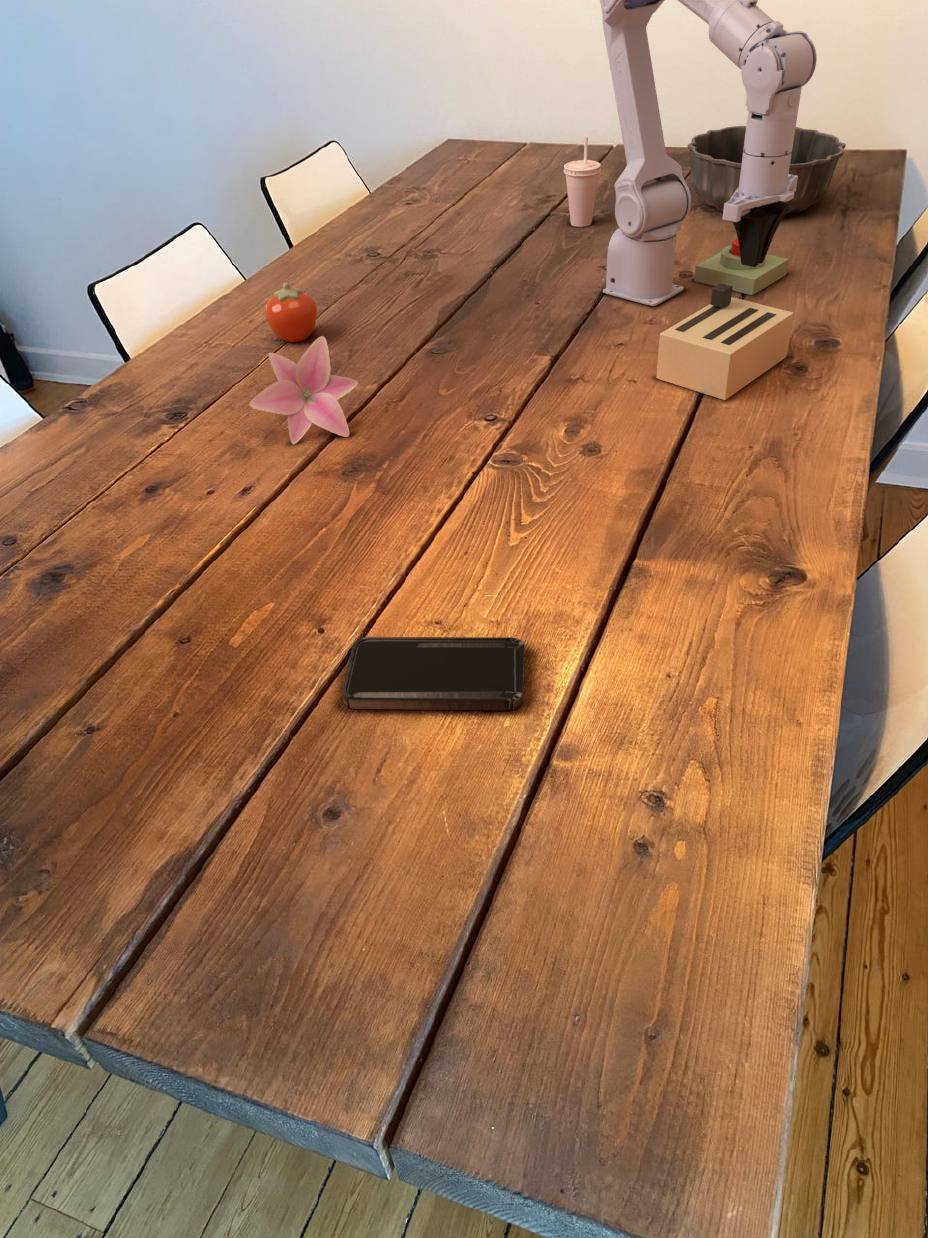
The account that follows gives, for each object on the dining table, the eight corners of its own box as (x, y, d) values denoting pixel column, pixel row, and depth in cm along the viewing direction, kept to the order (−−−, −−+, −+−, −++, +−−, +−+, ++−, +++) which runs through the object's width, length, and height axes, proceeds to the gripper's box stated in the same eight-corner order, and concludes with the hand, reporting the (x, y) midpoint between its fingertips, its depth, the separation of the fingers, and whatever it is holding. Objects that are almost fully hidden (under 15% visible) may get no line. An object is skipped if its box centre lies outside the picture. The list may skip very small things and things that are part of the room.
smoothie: (597, 229, 165) (600, 142, 156) (560, 228, 166) (561, 142, 157) (600, 217, 170) (603, 131, 161) (565, 217, 171) (566, 132, 162)
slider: (710, 304, 122) (712, 287, 121) (718, 299, 123) (720, 282, 122) (722, 307, 121) (724, 290, 120) (730, 302, 122) (732, 285, 121)
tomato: (330, 329, 139) (322, 275, 133) (303, 350, 134) (293, 295, 128) (288, 323, 141) (278, 270, 136) (260, 344, 136) (248, 289, 131)
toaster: (655, 378, 121) (659, 332, 117) (719, 338, 129) (724, 294, 125) (724, 400, 115) (730, 353, 111) (786, 356, 123) (794, 311, 119)
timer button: (726, 255, 142) (727, 243, 141) (738, 248, 144) (740, 236, 143) (747, 259, 140) (749, 248, 139) (760, 252, 142) (761, 240, 141)
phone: (522, 701, 76) (339, 698, 78) (522, 711, 77) (341, 708, 78) (524, 636, 82) (355, 635, 84) (524, 646, 83) (356, 645, 84)
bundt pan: (852, 189, 173) (864, 130, 167) (808, 234, 157) (819, 170, 150) (714, 175, 185) (720, 118, 179) (660, 215, 169) (664, 155, 162)
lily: (245, 446, 116) (243, 399, 107) (272, 371, 121) (272, 321, 112) (340, 472, 117) (346, 428, 108) (364, 398, 122) (371, 349, 113)
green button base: (693, 281, 145) (696, 254, 142) (728, 261, 150) (731, 235, 147) (752, 295, 139) (756, 268, 137) (786, 274, 145) (790, 247, 142)
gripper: (766, 170, 109) (750, 287, 118) (826, 141, 117) (807, 252, 125) (713, 161, 113) (701, 275, 122) (774, 133, 121) (759, 242, 129)
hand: (752, 263), depth 124 cm, fingers closed
